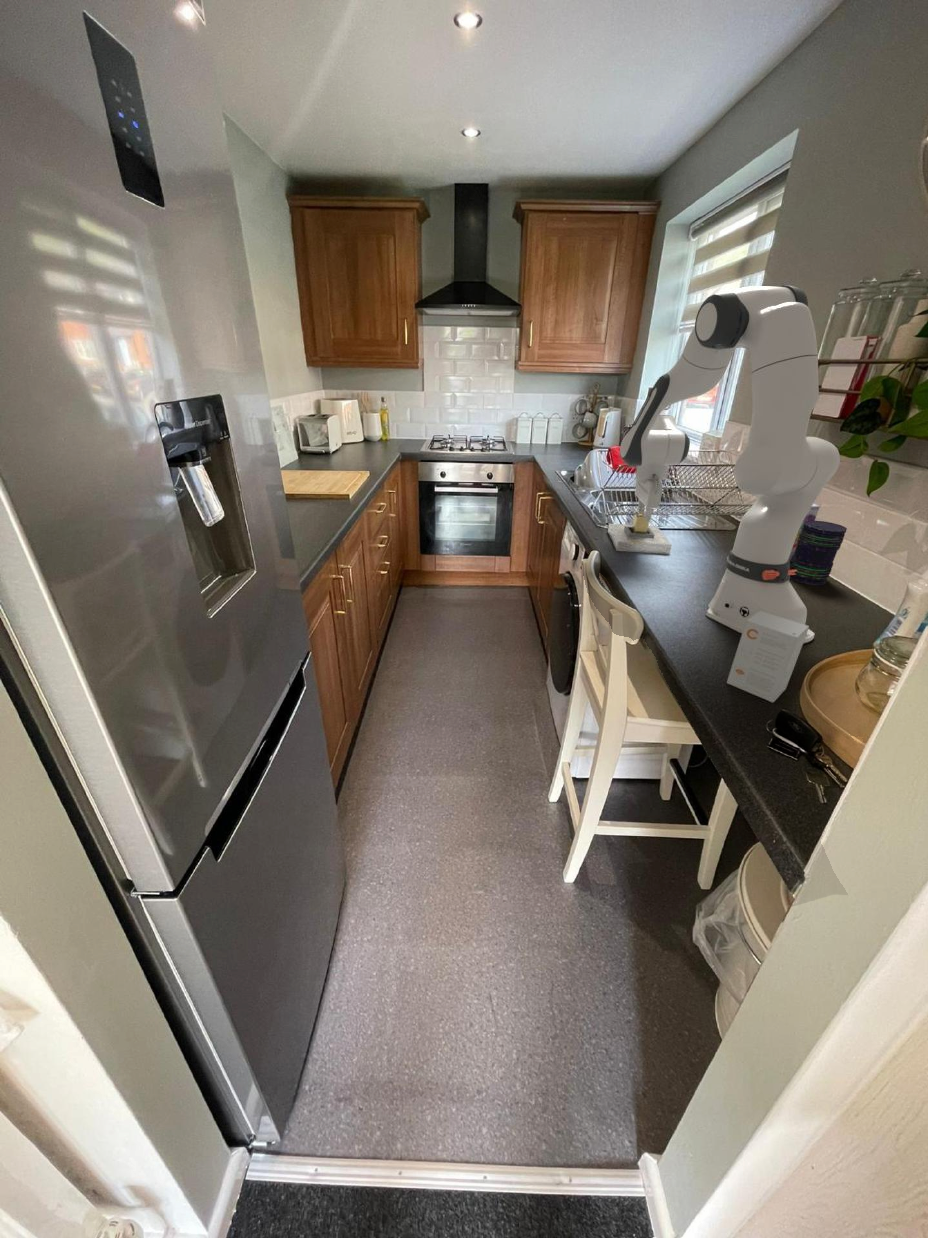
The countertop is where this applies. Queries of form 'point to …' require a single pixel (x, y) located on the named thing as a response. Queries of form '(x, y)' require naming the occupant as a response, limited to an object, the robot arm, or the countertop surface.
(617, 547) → the grey socket base
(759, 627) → the small box
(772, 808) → the countertop surface
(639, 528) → the yellow tall rectangular block
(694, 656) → the countertop surface
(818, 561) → the storage jar
